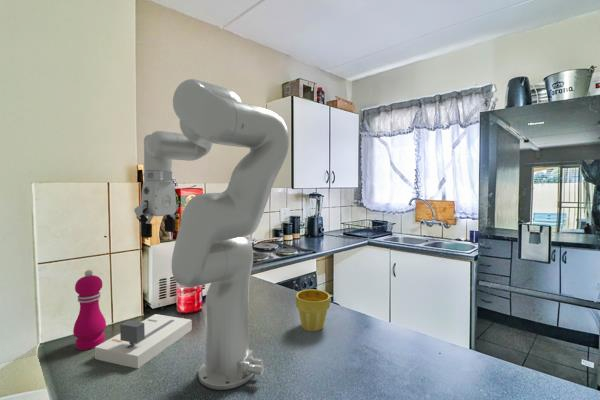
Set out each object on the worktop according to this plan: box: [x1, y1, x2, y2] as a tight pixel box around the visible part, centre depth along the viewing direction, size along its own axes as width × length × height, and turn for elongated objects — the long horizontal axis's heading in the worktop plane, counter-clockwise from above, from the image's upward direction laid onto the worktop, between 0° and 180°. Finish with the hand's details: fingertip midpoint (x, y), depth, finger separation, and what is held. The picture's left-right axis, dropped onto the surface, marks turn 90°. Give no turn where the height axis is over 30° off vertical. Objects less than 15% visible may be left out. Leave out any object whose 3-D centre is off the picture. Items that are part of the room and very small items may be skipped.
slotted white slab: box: [94, 313, 193, 369], centre depth 82 cm, size 13×20×3 cm, turn 163°
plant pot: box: [295, 289, 331, 332], centre depth 93 cm, size 10×10×10 cm
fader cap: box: [119, 319, 145, 345], centre depth 75 cm, size 5×2×5 cm, turn 73°
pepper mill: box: [72, 269, 107, 351], centre depth 81 cm, size 7×7×20 cm
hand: (158, 234), depth 91 cm, fingers open, 9 cm apart
